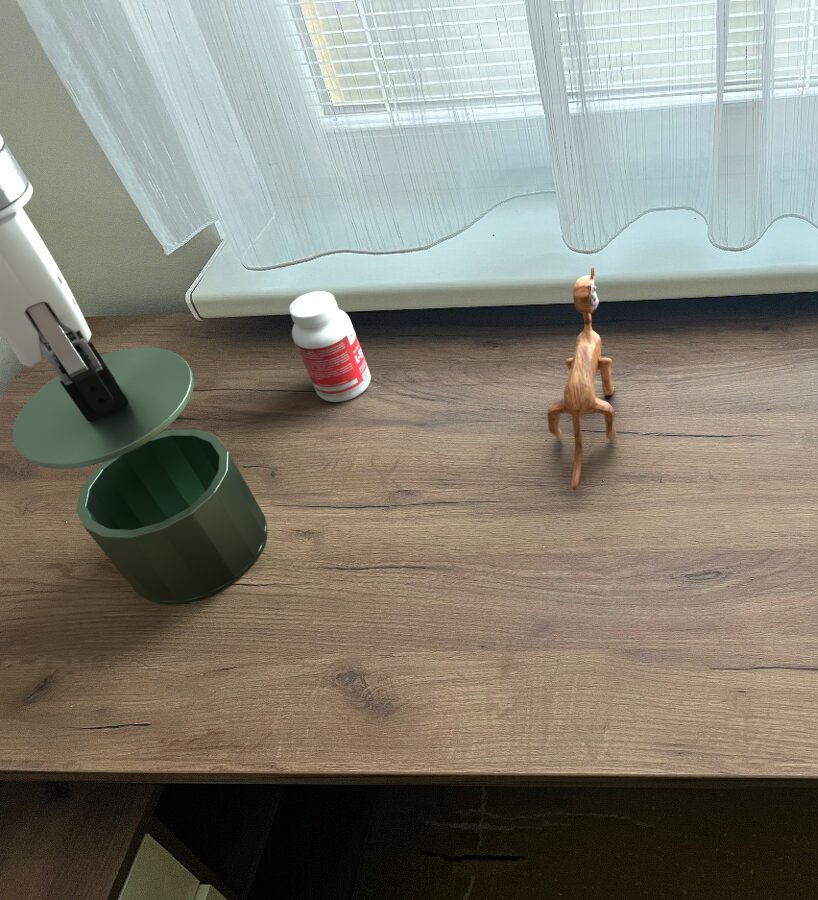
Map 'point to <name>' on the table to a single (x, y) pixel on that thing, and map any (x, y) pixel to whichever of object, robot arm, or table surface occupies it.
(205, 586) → the tin
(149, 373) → the tin lid
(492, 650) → the table surface
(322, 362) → the pill bottle
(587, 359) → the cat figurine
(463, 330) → the table surface
